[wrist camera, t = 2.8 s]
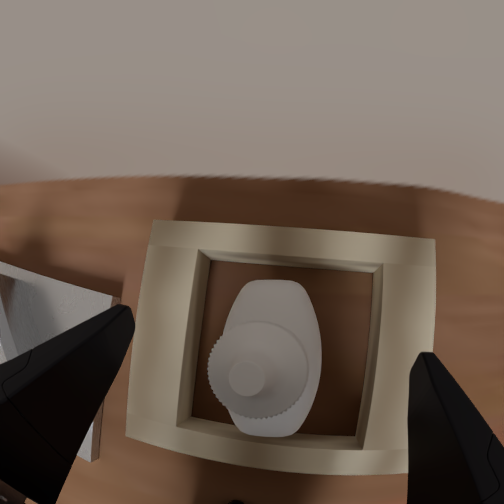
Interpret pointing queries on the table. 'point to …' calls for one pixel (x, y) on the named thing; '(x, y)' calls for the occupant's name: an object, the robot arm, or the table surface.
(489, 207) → the table surface
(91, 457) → the silver tray
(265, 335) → the eye dropper bottle
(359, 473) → the beige square frame
